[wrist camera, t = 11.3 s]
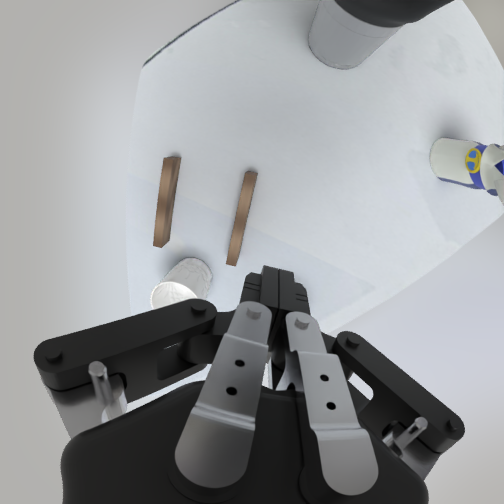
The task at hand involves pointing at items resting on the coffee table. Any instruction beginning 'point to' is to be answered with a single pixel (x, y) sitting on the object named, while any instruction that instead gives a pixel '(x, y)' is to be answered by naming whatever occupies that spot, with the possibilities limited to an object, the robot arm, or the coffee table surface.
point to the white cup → (182, 283)
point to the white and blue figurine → (469, 164)
